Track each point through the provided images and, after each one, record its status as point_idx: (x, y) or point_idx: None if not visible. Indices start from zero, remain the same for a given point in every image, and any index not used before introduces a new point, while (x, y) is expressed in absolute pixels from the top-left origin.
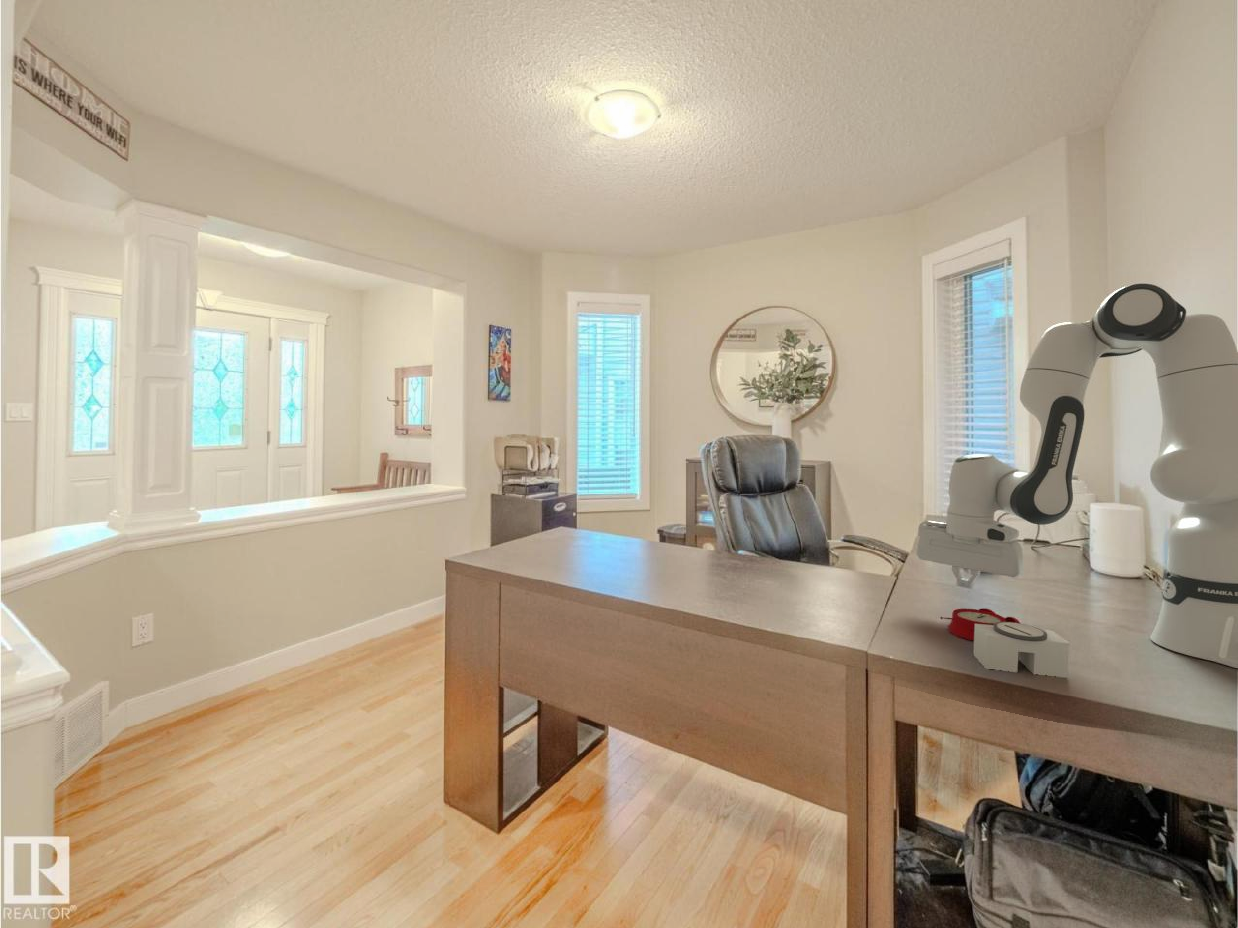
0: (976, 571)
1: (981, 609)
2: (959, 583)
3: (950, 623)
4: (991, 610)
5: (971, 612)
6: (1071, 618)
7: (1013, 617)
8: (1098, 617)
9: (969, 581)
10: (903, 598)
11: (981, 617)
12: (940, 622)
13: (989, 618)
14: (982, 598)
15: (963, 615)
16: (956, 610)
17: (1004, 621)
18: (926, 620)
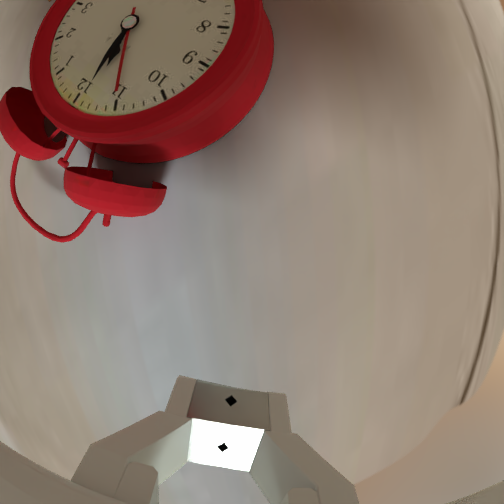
0: (86, 479)
1: (124, 210)
2: (265, 403)
3: (265, 29)
4: (72, 182)
5: (166, 92)
6: (16, 418)
7: (3, 126)
8: (3, 437)
9: (181, 412)
10: (443, 367)
11: (120, 39)
12: (314, 114)
13: (87, 55)
14: (209, 493)
15: (204, 7)
16: (245, 43)
17: (39, 32)
18: (369, 111)
